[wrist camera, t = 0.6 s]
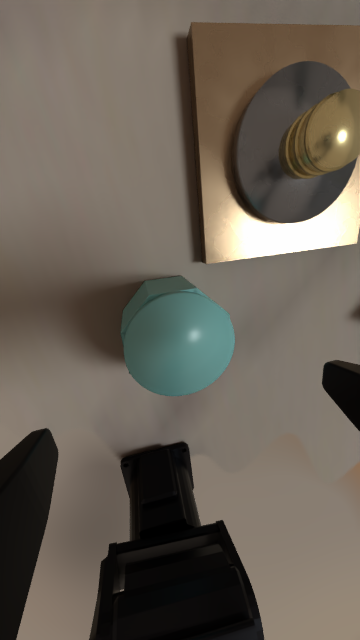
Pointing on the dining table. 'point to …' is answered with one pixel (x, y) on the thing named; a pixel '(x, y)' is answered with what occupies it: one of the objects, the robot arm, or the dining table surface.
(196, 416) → the dining table surface
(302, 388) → the dining table surface
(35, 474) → the robot arm
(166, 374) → the cap
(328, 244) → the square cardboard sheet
